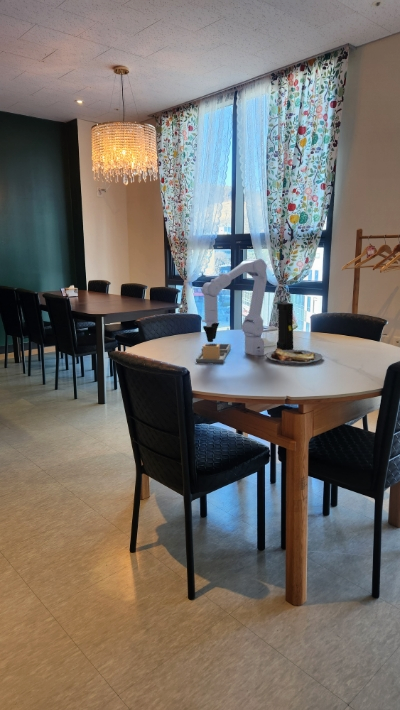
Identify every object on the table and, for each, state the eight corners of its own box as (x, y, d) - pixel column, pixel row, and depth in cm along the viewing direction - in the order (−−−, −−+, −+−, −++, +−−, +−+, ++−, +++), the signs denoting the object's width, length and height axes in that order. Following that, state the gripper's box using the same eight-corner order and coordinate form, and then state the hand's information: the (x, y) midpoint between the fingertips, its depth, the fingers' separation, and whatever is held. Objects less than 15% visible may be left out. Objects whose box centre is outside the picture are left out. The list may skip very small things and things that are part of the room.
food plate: (257, 362, 208) (257, 354, 207) (275, 352, 228) (275, 345, 227) (314, 369, 196) (315, 361, 196) (327, 358, 217) (328, 350, 216)
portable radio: (295, 349, 232) (296, 298, 227) (284, 351, 230) (285, 299, 225) (286, 347, 239) (287, 297, 234) (276, 348, 237) (276, 297, 232)
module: (204, 357, 217) (204, 342, 216) (219, 357, 216) (219, 343, 214) (202, 359, 212) (202, 345, 211) (218, 359, 211) (218, 345, 210)
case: (206, 350, 236) (206, 343, 236) (230, 350, 234) (230, 344, 234) (201, 356, 223) (201, 349, 222) (227, 356, 221) (227, 349, 220)
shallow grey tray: (201, 356, 223) (201, 351, 222) (227, 356, 221) (227, 352, 220) (195, 363, 209) (195, 359, 208) (223, 364, 206) (223, 359, 206)
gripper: (204, 308, 217) (205, 337, 220) (199, 312, 203) (200, 343, 206) (220, 307, 216) (220, 337, 219) (215, 312, 202) (216, 343, 205)
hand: (211, 340), depth 212 cm, fingers open, 7 cm apart
